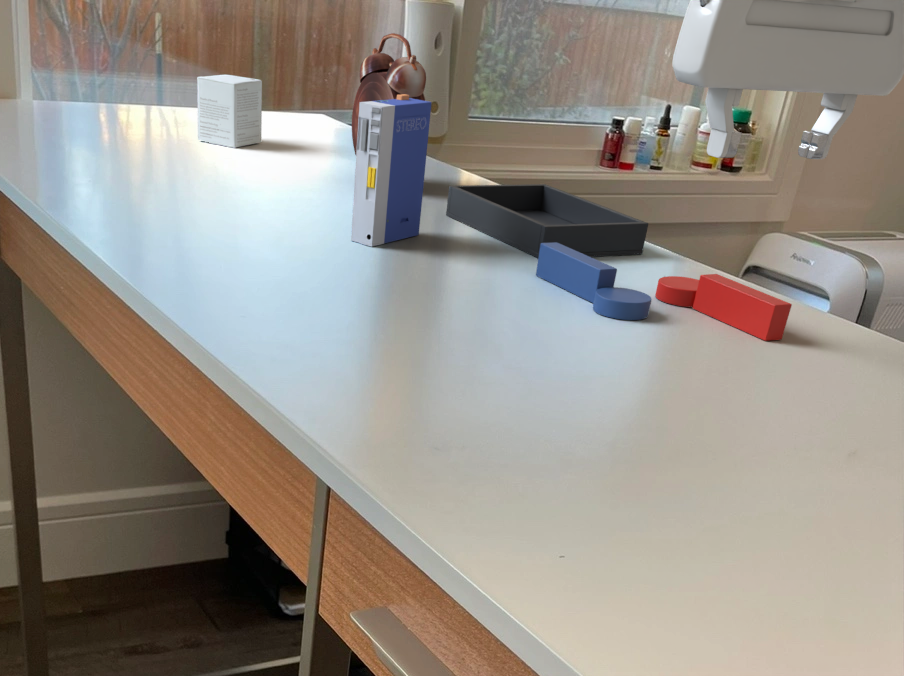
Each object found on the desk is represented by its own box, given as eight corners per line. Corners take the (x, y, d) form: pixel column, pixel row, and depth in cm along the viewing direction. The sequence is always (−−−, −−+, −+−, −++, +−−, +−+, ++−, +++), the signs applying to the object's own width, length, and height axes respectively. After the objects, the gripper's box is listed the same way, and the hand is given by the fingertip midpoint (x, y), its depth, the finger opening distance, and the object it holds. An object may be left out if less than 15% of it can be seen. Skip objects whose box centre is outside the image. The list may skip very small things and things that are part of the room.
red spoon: (794, 338, 90) (805, 302, 89) (752, 342, 88) (761, 306, 87) (684, 291, 100) (692, 258, 98) (644, 293, 98) (651, 260, 96)
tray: (642, 254, 110) (648, 223, 109) (540, 259, 106) (545, 226, 104) (540, 212, 123) (545, 184, 122) (445, 215, 119) (449, 185, 117)
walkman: (396, 229, 111) (408, 93, 104) (419, 235, 110) (432, 97, 103) (348, 240, 106) (357, 97, 99) (371, 246, 105) (382, 102, 98)
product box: (225, 136, 148) (225, 73, 144) (262, 143, 146) (263, 79, 142) (196, 141, 144) (195, 76, 140) (234, 148, 142) (235, 82, 137)
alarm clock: (425, 193, 127) (440, 40, 119) (388, 194, 125) (401, 38, 116) (379, 173, 135) (390, 29, 126) (344, 174, 133) (352, 27, 124)
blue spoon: (522, 276, 100) (527, 243, 98) (564, 273, 102) (569, 241, 100) (614, 322, 90) (621, 286, 89) (659, 318, 92) (667, 283, 90)
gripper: (745, -72, 72) (689, 164, 80) (959, -45, 80) (889, 166, 88) (681, -77, 76) (635, 147, 84) (891, -51, 84) (830, 150, 92)
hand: (766, 157), depth 86 cm, fingers open, 8 cm apart
